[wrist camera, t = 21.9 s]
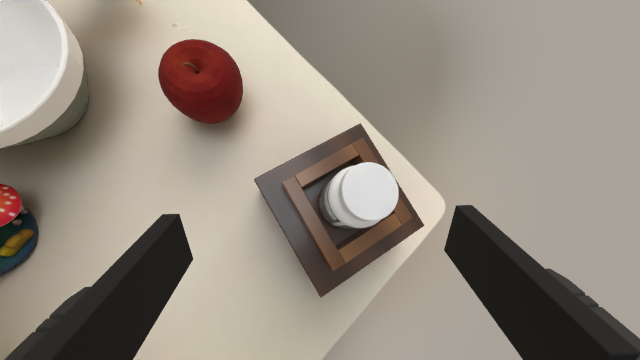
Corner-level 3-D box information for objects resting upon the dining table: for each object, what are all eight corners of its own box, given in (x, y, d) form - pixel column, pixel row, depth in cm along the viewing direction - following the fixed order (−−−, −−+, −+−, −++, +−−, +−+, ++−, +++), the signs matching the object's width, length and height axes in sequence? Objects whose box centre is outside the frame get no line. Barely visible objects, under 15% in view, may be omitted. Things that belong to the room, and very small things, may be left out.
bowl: (-37, 37, 33) (-163, -38, 23) (125, 38, 36) (71, -27, 27) (-57, 178, 29) (-213, 156, 20) (123, 164, 33) (62, 140, 24)
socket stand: (311, 281, 34) (325, 306, 23) (259, 189, 35) (250, 173, 25) (394, 225, 37) (440, 225, 27) (344, 143, 39) (368, 112, 28)
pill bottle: (371, 193, 29) (416, 176, 20) (353, 236, 28) (391, 241, 18) (329, 171, 29) (353, 143, 19) (309, 214, 28) (323, 207, 18)
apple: (227, 67, 38) (209, 12, 28) (260, 116, 37) (253, 77, 28) (169, 93, 36) (128, 44, 26) (203, 146, 35) (174, 116, 25)
